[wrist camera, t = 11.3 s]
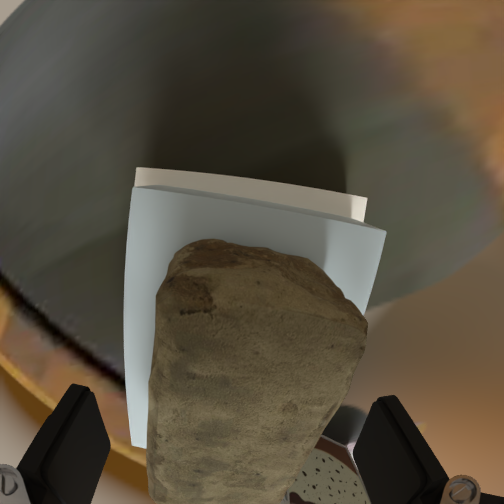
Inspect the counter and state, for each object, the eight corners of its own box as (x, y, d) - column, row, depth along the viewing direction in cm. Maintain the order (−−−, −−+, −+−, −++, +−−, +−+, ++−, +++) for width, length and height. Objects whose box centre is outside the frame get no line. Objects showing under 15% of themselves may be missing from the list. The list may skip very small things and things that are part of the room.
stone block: (162, 437, 13) (146, 510, 9) (182, 225, 11) (145, 259, 6) (266, 451, 14) (277, 523, 9) (332, 253, 12) (393, 301, 7)
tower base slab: (156, 169, 18) (136, 167, 14) (342, 193, 19) (367, 198, 15) (149, 380, 22) (137, 413, 18) (297, 395, 23) (307, 428, 19)
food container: (218, 441, 23) (216, 536, 13) (267, 404, 22) (283, 510, 12) (310, 479, 25) (328, 552, 15) (355, 450, 24) (385, 525, 14)
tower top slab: (158, 184, 14) (132, 187, 10) (351, 217, 15) (386, 231, 11) (146, 403, 17) (131, 445, 14) (292, 421, 18) (302, 463, 14)
